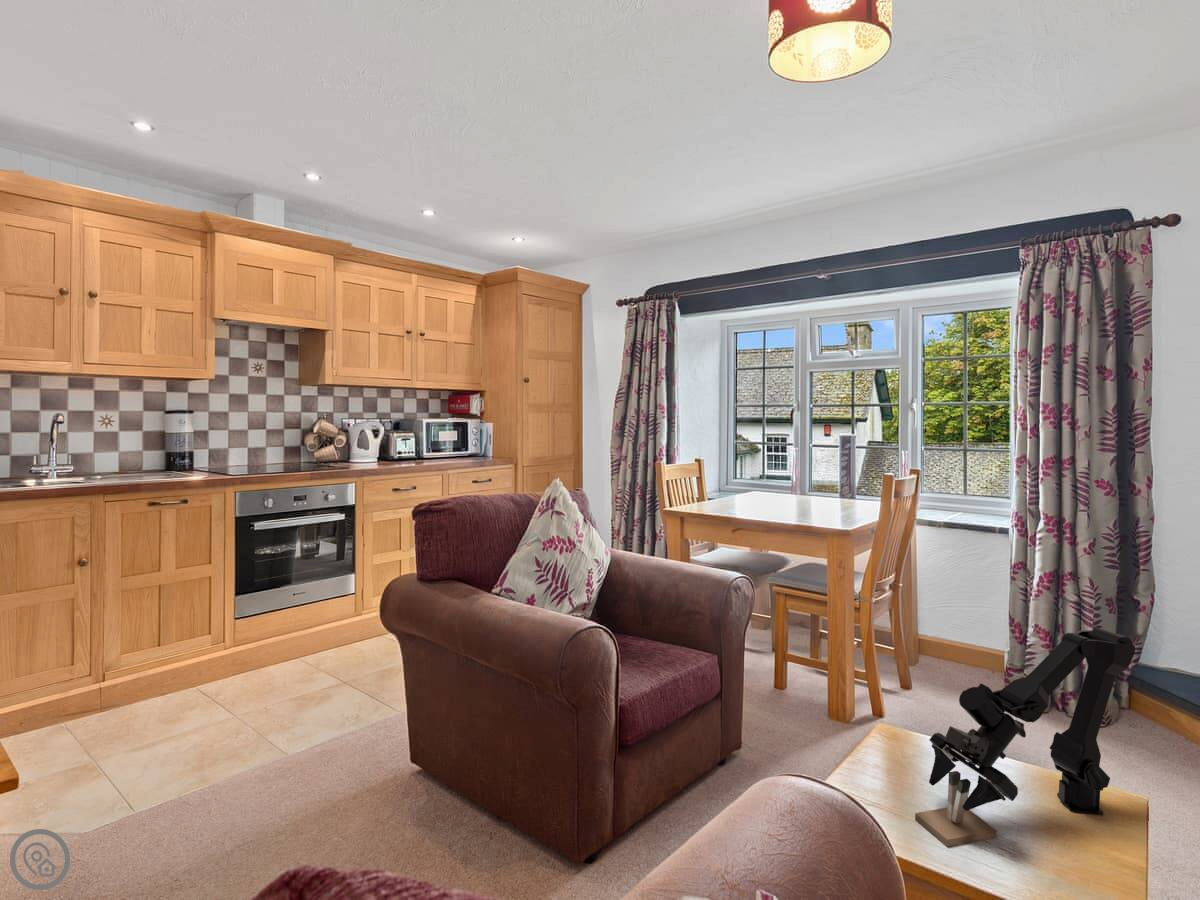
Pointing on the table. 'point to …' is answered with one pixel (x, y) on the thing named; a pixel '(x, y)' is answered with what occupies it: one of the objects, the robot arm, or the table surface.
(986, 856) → the table surface
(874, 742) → the table surface
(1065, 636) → the robot arm
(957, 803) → the arm
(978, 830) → the stand
